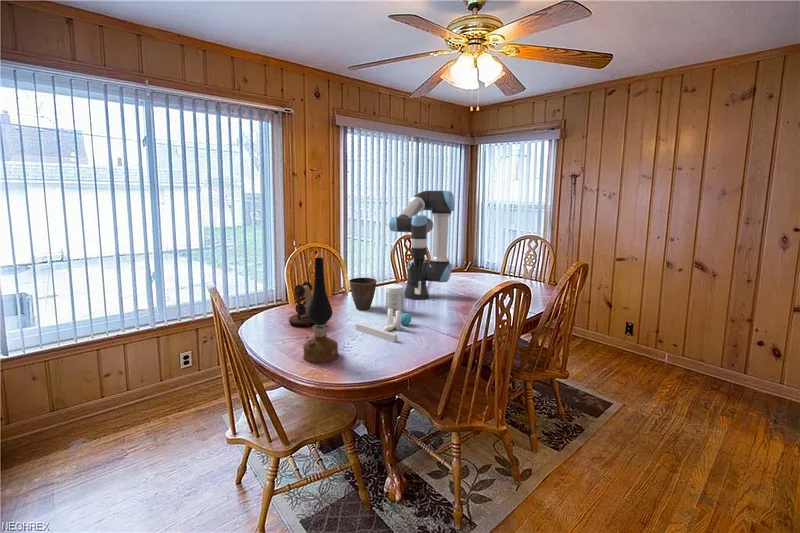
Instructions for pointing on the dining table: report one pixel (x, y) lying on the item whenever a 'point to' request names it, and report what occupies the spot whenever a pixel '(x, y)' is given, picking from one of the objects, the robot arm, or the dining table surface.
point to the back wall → (376, 332)
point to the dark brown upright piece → (302, 305)
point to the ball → (405, 319)
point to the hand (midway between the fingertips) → (417, 293)
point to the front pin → (390, 327)
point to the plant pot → (363, 292)
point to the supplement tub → (395, 298)
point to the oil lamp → (320, 322)
